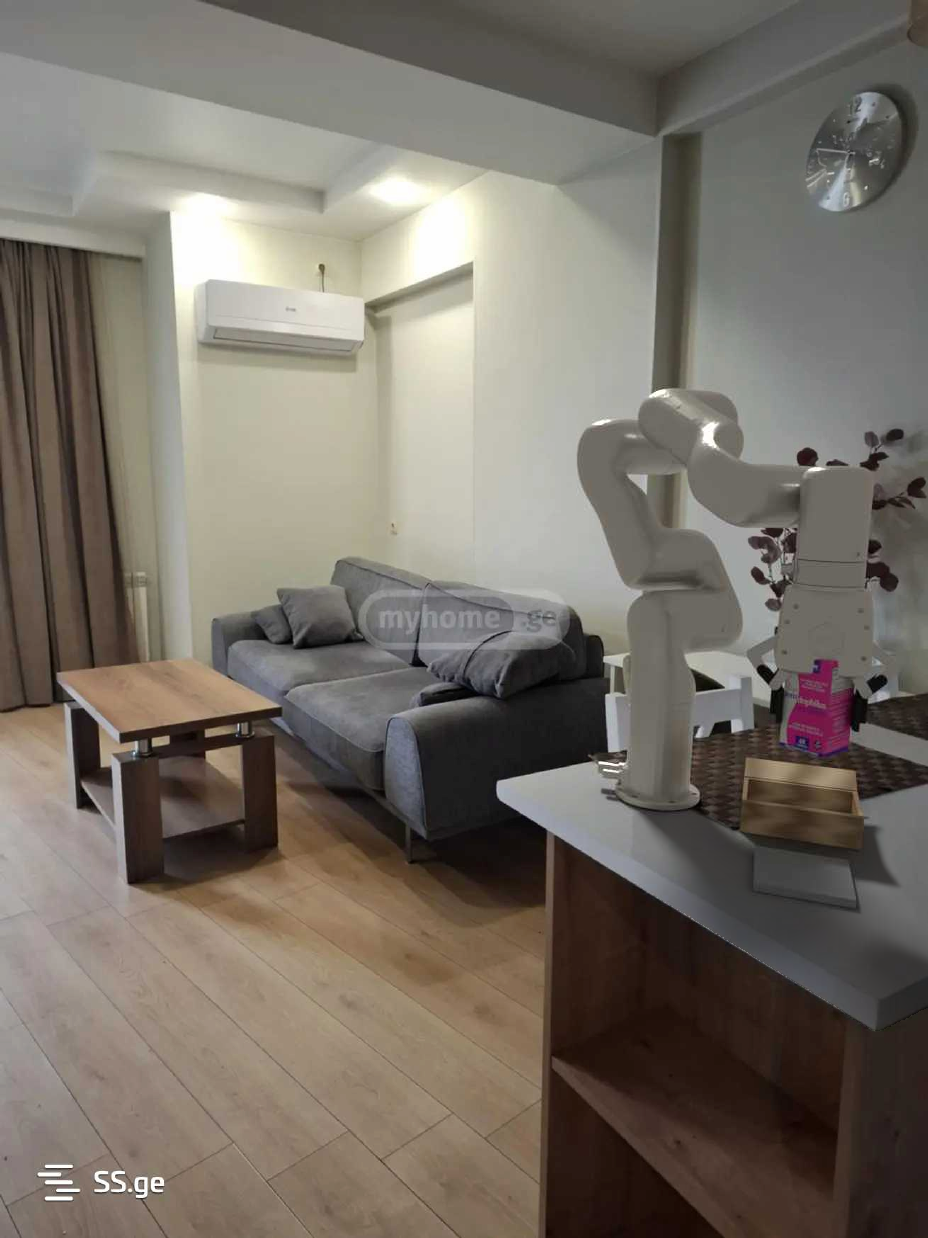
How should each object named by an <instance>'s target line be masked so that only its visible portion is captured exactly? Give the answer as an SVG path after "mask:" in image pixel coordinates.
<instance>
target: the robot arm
mask: <svg viewBox="0 0 928 1238" xmlns="http://www.w3.org/2000/svg"><path fill="white" fill-rule="evenodd" d="M744 445H745V438H744V433H743V430H742V428H741V426H740V425H739V414H738V410H737V408H736V406H735V404H734V402H733V401H732V400H731V399H730V398H729V397H728V396H726V395H725V394H723V393H722V392H721V393H720V392H718V391H713V390H700V389H699V390H698V389H685V388H677V387H676V388H675V387H673V388H663V389H660V390H657V391H655V392H653V393H651V394H650V395H648V396H647V397H646V398H645V399H644V401H642V403H641V405H640V407H639V410H638V412H637V419H634V418H633V419H631V418H630V419H628V418H608V419H604V420H600V421H599V420H598V421H596V422H594V423H592V424H590V425H589V426H588V427H587V428H586V429H584V431H583V432H582V434H581V436H580V438H579V441H578V445H577V449H576V451H577V452H576V466H577V474H578V478H579V482H580V485H581V488H582V490H583V491H584V494H585V496H586V498H587V500H588V501H589V503H590V505H591V507H592V508H593V510H594V512H595V513H596V515H597V518H598V520H599V523H600V525H601V527H602V531H603V535H604V537H605V540H606V543H607V545H608V548H609V550H610V554H611V556H612V560H613V562H614V564H615V567H616V571H617V572H618V575H619V577H620V579H621V581H622V582H623V584H624V585H625V586H627V588H629V589H631V590H635V591H649V592H646V593H643V594H641V595H640V596H638V597H637V598H636V599H635V600H633V602H632V603H631V605H630V606H629V609H628V611H627V615H626V628H627V629H626V630H627V637H628V642H629V652H630V689H629V690H630V691H629V695H630V697H629V713H628V716H629V717H628V728H627V729H628V730H627V731H628V732H627V749H626V750H627V751H626V752H627V753H626V760H625V762H623V761H620V762H619V763H612V762H610V761H601V760H599V761H598V765H597V773H598V774H600V775H602V778H604V779H607V780H608V779H610V780H611V779H612V780H617V781H616V783H615V785H614V794H615V795H616V796H617V797H618V799H620V800H622V801H623V802H625V803H627V804H630V805H633V806H636V807H638V808H644V809H648V810H654V811H680V810H686V809H689V808H692V807H693V808H694V806H696V805H697V804H698V803H700V802H699V801H700V798H701V797H700V795H701V793H700V790H699V789H698V788H697V787H696V786H695V785H693V784H692V783H691V768H692V756H693V754H692V753H693V739H694V726H695V725H694V723H695V708H696V692H697V691H696V688H697V687H696V681H695V677H694V674H693V672H692V670H691V668H690V666H689V664H688V662H687V660H686V657H685V655H689V654H693V653H694V654H695V653H707V652H718V651H722V650H726V649H728V648H729V649H730V648H731V647H732V646H734V645H735V644H736V643H737V642H738V640H739V639H740V638H741V634H742V632H743V624H744V623H743V622H744V620H743V612H742V608H741V605H740V601H739V599H738V596H737V593H736V592H735V589H734V587H733V585H732V582H731V580H730V578H729V577H730V576H729V574H728V572H727V569H726V567H725V565H724V563H723V560H722V557H721V556H720V554H719V551H718V548H717V547H716V545H715V544H714V542H713V541H712V539H710V537H708V535H706V534H704V533H703V532H701V531H700V530H695V529H691V528H669V527H666V526H664V525H663V524H662V523H661V521H660V520H659V517H658V515H657V513H656V512H657V511H655V510H656V509H655V507H654V505H653V503H652V501H651V499H650V497H649V496H648V495H647V494H646V493H645V490H643V489H642V488H641V487H640V486H639V485H638V484H636V482H634V481H633V480H632V479H630V477H629V475H640V476H641V475H642V476H643V475H644V476H646V475H647V476H670V475H673V474H677V473H680V472H682V471H684V470H686V476H687V482H688V485H689V490H690V491H691V494H692V496H693V498H694V499H695V500H696V501H697V502H698V503H699V504H700V505H701V506H702V507H704V508H705V509H706V510H708V511H709V512H710V513H712V515H714V516H716V517H717V518H718V519H720V520H722V521H723V522H725V523H727V524H729V525H731V526H735V527H739V528H744V529H747V528H749V529H756V528H757V529H758V528H762V529H763V528H764V529H765V528H766V529H769V528H773V529H796V530H797V531H796V538H795V539H796V541H795V552H794V553H795V555H794V560H792V561H791V562H788V563H781V565H780V576H786V577H790V579H792V584H788V585H787V586H785V589H784V593H783V597H782V599H781V600H782V601H781V606H780V609H779V616H778V623H777V631H776V634H774V635H772V636H770V637H769V638H767V639H764V640H763V641H761V642H759V643H758V644H756V645H754V646H752V647H751V648H748V650H747V651H746V658H747V660H748V661H749V662H750V664H751V665H752V666H753V668H754V670H755V671H756V673H757V675H758V676H759V677H760V678H761V679H762V680H763V681H764V682H765V683H766V684H767V685H768V686H769V688H770V699H769V713H768V714H769V715H774V723H775V724H778V725H779V724H781V723H782V712H783V700H784V687H783V686H784V684H785V680H786V679H787V678H788V677H789V675H790V674H791V673H793V674H803V675H808V674H811V673H813V666H814V660H816V659H823V660H834V661H838V674H837V675H838V677H839V678H851V679H852V680H853V682H854V684H855V686H854V687H855V688H856V689H855V691H854V696H853V706H852V717H851V727H850V730H851V731H853V732H854V733H860V729H861V727H860V726H861V725H866V723H867V718H868V717H867V715H868V706H869V699H871V698H872V696H873V695H874V694H875V693H877V692H878V691H879V690H881V689H882V688H883V687H885V686H886V685H887V684H888V682H889V681H890V680H892V679H893V678H894V677H895V676H896V675H897V674H898V673H899V672H900V670H902V664H901V663H900V661H899V660H897V659H896V658H894V656H892V655H891V654H889V653H888V652H887V651H885V650H884V649H882V647H880V646H879V645H877V644H876V643H875V642H874V631H875V629H874V627H875V626H874V623H875V622H874V620H875V618H874V617H875V615H874V614H875V612H874V600H873V592H872V590H870V589H868V588H865V584H866V574H867V562H868V551H869V541H870V530H871V520H872V519H871V518H872V509H873V508H872V507H873V499H874V498H873V497H874V487H875V478H874V474H873V473H872V471H871V469H870V470H869V469H868V468H866V467H864V466H863V467H862V466H856V465H855V466H854V465H819V466H810V465H809V466H808V465H793V464H792V465H789V464H773V463H772V464H771V463H770V464H769V463H767V464H766V463H749V462H746V461H744V460H742V459H740V458H741V455H742V453H743V450H744V447H745V446H744ZM772 650H775V651H774V660H775V664H776V665H775V666H776V667H777V669H775V671H773V670H772V669H771V668H770V667H769V666H768V665H767V663H766V662H765V661H764V659H763V658H762V657H763V656H764V655H765V654H767V653H769V652H771V651H772ZM873 658H874V659H875V660H876V661H878V662H879V663H880V664H882V665H883V667H882V668H881V669H880V671H878V673H876V674H875V675H873V676H872V677H871V678H869V679H867V680H866V678H865V677H867V676H868V675H869V674H870V672H871V669H872V663H873V662H872V661H873ZM860 724H861V725H860Z"/></svg>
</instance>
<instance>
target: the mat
mask: <svg viewBox="0 0 928 1238" xmlns="http://www.w3.org/2000/svg"><path fill="white" fill-rule="evenodd" d="M753 861H754V863H753V878H752V879H753V882H752V883H753V884H752V892H757V893H764V894H769V895H774V896H781V897H787V898H791V899H792V898H793V899H798V900H803V901H810V902H815V903H820V904H821V903H822V904H827V905H833V906H839V907H845V908H850V909H855V910H856V909H857V895H856V891H855V885H854V882H853V876H852V872H851V867H850V863H849V859H843V858H836V857H832V856H831V857H830V856H824V855H817V854H811V853H804V852H799V851H798V852H797V851H793V850H792V851H791V850H784V849H779V848H773V847H767V846H766V847H765V846H762V845H761V846H759V845H755V846H754V860H753Z"/></svg>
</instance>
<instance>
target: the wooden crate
mask: <svg viewBox="0 0 928 1238" xmlns="http://www.w3.org/2000/svg"><path fill="white" fill-rule="evenodd" d="M744 766H745V767H744V776H743V777H744V778H743V785H742V786H743V787H742V797H741V808H740V809H741V810H740V822H739V832H740V833H746V834H753V835H760V836H766V837H773V838H778V839H779V838H780V839H786V840H791V841H792V840H793V841H799V842H807V843H812V844H819V845H826V846H833V847H838V848H845V849H852V850H858V851H859V850H860V851H861V850H862V845H863V844H862V843H863V833H864V826H865V825H864V824H865V823H864V821H865V820H870V817H869V816H865V815H864V813H863V808H862V805H861V801H860V797H859V794H858V786H857V785H858V783H857V774H856V773H857V772H856V770H853V769H852V770H851V769H844V768H834V767H828V766H827V767H826V766H819V765H810V764H802V763H796V762H795V763H794V762H786V761H777V760H769V759H762V758H761V759H760V758H754V757H745V765H744Z"/></svg>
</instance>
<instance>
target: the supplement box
mask: <svg viewBox="0 0 928 1238" xmlns="http://www.w3.org/2000/svg"><path fill="white" fill-rule="evenodd" d="M837 674H838V661H834V660H823V659H816V660H814V666H813V673H811V674H808V675H803V674H793V673H791V674H790V675H789V677H788V678H787V679H786V680H785V682H784V684H783V686H784V700H783V712H782V723H780V724H781V725H780V734H779V742H778V743H779V746H781V747H782V748H783V747H784V748H789V749H792V750H796V751H799V752H802V753H805V754H808V755H811V756H815V757H817V758H820V759H826V758H828V757H831V756H834V755H836V754H840V753H843V752H846V751H849V748H850V747H849V746H850V737H851V736H850V734H851V717H852V706H853V696H854V694H855V687H856V686H855V684H854V682H853V680H852V679H851V678H839V677H838V675H837Z"/></svg>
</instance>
